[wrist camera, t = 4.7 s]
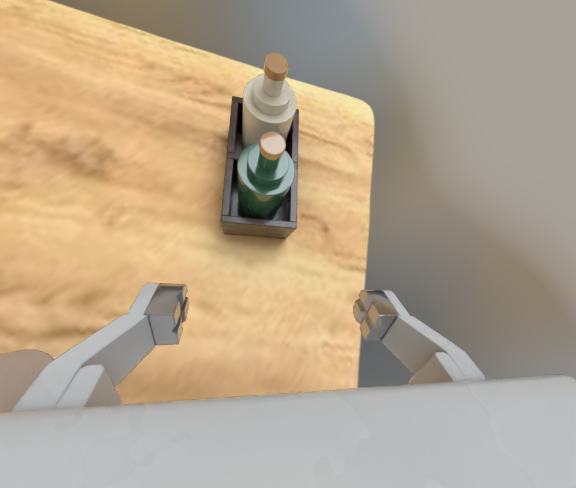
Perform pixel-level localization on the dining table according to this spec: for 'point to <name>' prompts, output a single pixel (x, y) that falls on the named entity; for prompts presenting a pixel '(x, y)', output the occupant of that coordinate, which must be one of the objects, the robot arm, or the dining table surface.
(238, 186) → the green bottle
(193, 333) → the dining table surface
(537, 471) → the robot arm
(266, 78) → the cream bottle
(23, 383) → the coffee cup
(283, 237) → the caddy
